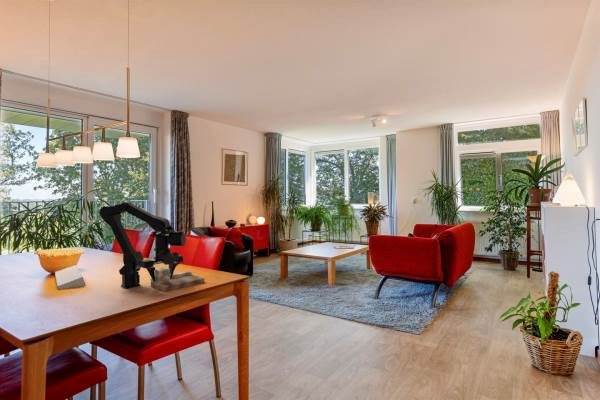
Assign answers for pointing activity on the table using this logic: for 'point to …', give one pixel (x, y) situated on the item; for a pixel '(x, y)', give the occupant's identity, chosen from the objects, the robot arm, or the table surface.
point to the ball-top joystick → (162, 275)
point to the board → (178, 281)
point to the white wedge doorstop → (69, 277)
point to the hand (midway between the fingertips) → (162, 279)
